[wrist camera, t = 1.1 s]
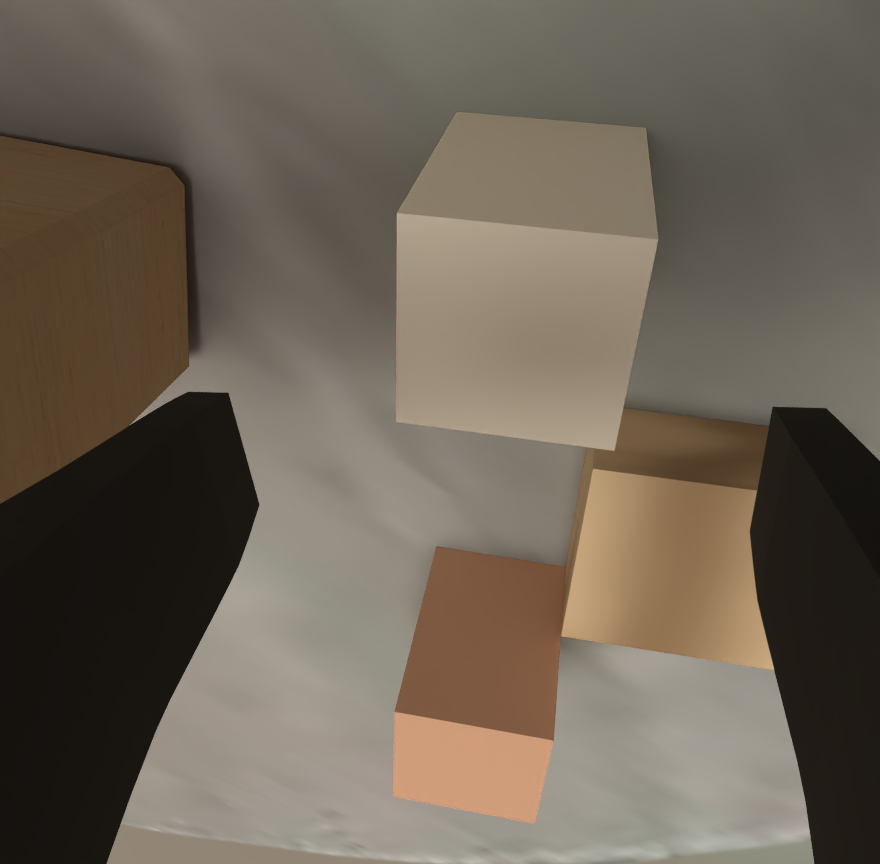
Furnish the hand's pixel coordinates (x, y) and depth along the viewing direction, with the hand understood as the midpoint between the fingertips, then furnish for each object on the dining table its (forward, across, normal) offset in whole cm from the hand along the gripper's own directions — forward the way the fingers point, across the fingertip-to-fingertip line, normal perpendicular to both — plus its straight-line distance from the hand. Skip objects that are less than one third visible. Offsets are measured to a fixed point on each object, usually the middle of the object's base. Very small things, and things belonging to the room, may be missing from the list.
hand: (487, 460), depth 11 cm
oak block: (+10, -4, +8) cm, 13 cm away
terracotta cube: (+9, +2, +13) cm, 16 cm away
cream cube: (+9, 0, 0) cm, 9 cm away
